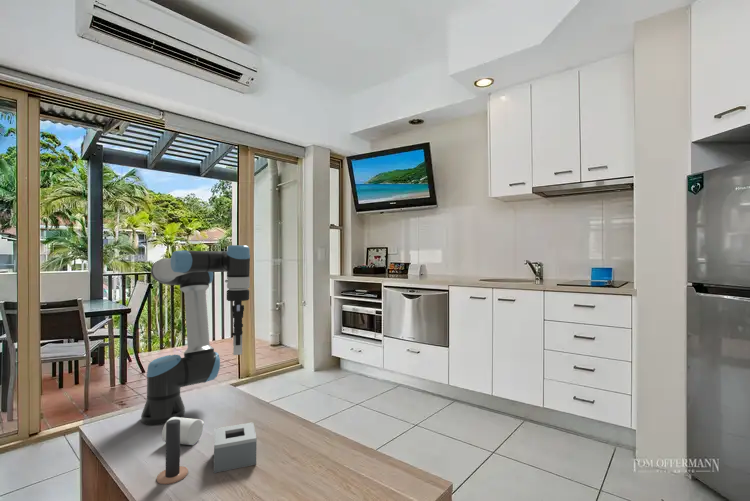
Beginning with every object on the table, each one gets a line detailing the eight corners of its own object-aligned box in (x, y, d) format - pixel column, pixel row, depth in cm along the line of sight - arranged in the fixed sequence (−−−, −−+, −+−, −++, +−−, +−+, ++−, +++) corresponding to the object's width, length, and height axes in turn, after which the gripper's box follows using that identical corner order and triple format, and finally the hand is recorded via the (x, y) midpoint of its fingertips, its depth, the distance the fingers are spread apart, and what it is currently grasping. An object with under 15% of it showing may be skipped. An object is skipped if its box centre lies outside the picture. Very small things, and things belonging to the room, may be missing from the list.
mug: (187, 449, 123) (187, 425, 123) (161, 446, 125) (161, 422, 125) (210, 433, 134) (210, 410, 135) (186, 430, 136) (186, 408, 137)
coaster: (158, 471, 110) (159, 469, 110) (189, 465, 113) (189, 463, 113) (154, 487, 102) (154, 484, 102) (186, 480, 106) (187, 478, 106)
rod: (166, 472, 109) (167, 420, 109) (180, 469, 110) (180, 418, 110) (164, 478, 105) (165, 425, 106) (178, 476, 107) (179, 423, 107)
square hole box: (214, 453, 120) (214, 428, 120) (252, 446, 125) (253, 422, 125) (213, 473, 109) (214, 445, 109) (256, 464, 114) (256, 438, 114)
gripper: (227, 286, 140) (226, 343, 140) (226, 292, 117) (225, 359, 117) (247, 286, 143) (247, 341, 143) (251, 291, 120) (250, 357, 119)
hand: (237, 349), depth 130 cm, fingers open, 13 cm apart
